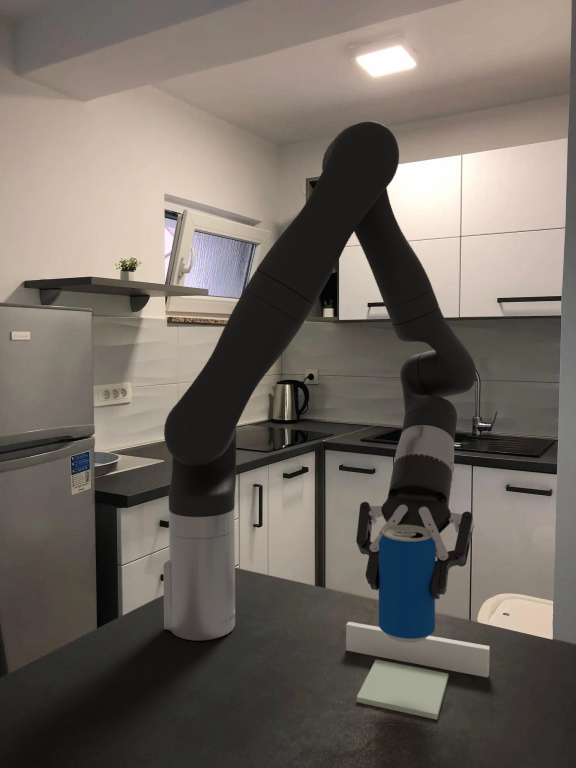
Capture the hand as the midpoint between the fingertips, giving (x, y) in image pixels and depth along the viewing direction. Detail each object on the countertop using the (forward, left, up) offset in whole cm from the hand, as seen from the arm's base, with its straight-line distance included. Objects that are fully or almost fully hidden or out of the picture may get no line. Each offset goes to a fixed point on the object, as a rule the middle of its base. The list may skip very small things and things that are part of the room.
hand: (404, 591), depth 72 cm
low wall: (0, +9, -13) cm, 15 cm away
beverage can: (0, +2, -6) cm, 6 cm away
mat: (0, +2, -13) cm, 13 cm away
